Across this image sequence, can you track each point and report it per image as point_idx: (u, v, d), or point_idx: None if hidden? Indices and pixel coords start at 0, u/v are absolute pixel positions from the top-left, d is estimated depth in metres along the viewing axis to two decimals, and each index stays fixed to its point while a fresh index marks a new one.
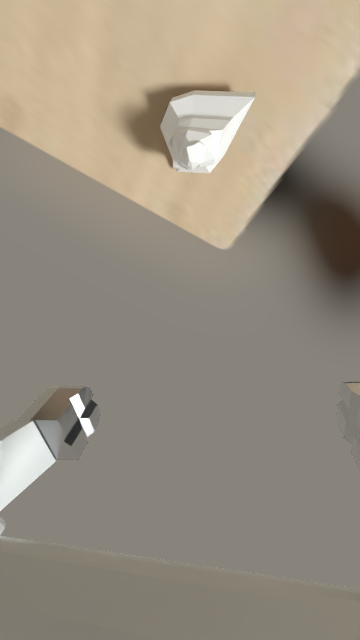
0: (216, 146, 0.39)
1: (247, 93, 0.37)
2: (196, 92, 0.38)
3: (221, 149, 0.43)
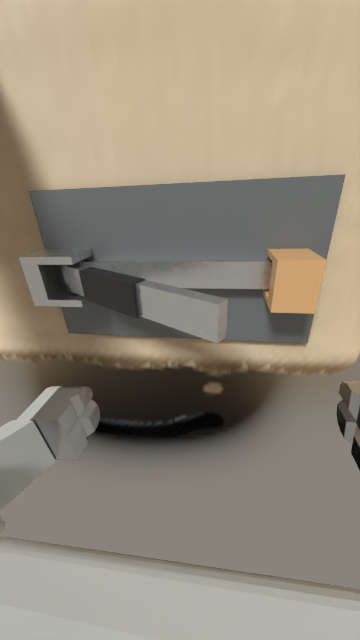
0: None
1: None
2: None
3: None
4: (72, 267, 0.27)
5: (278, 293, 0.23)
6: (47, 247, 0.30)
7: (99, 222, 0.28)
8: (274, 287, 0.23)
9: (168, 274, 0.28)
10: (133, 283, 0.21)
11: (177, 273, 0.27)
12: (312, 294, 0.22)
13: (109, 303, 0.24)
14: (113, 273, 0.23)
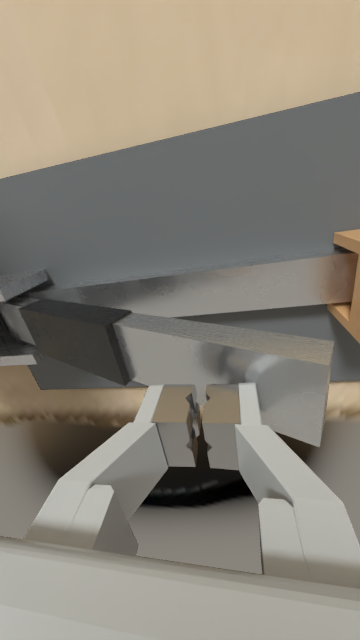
0: None
1: None
2: None
3: None
4: (13, 303, 0.16)
5: None
6: None
7: (49, 227, 0.17)
8: None
9: (167, 297, 0.17)
10: (108, 324, 0.10)
11: (181, 293, 0.17)
12: None
13: (75, 359, 0.13)
14: (74, 306, 0.13)
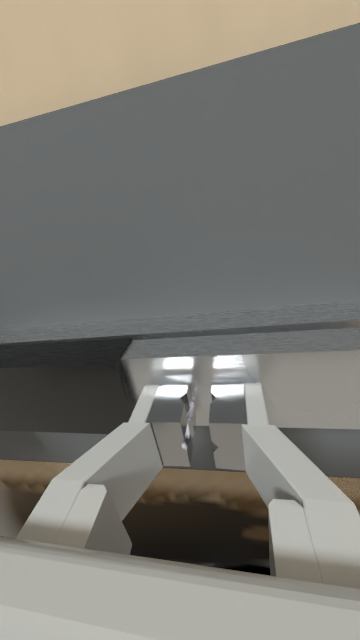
0: None
1: None
2: None
3: None
4: None
5: None
6: None
7: None
8: None
9: None
10: (115, 360, 0.08)
11: None
12: None
13: (46, 421, 0.10)
14: (34, 348, 0.10)
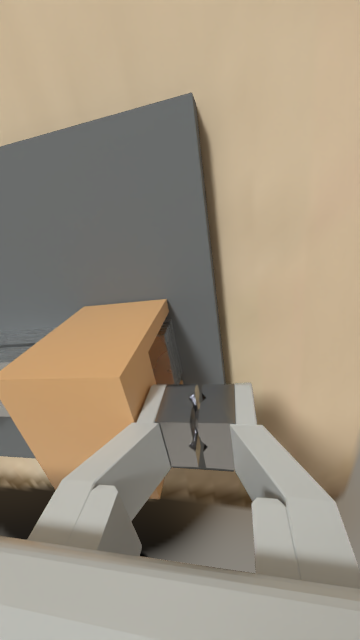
0: None
1: None
2: None
3: None
4: None
5: (44, 453, 0.08)
6: None
7: None
8: (28, 439, 0.08)
9: None
10: None
11: None
12: None
13: None
14: None
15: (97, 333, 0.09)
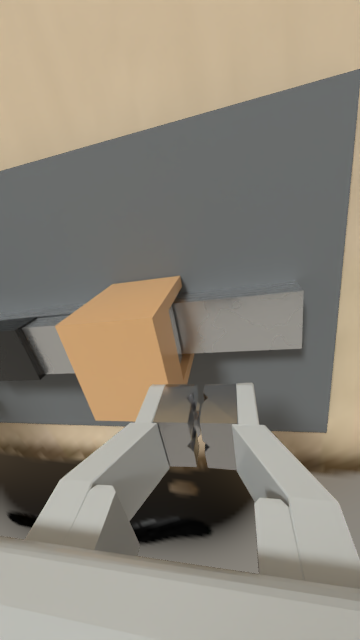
0: None
1: None
2: None
3: None
4: None
5: (90, 387, 0.11)
6: None
7: None
8: (78, 376, 0.11)
9: None
10: (17, 328, 0.13)
11: None
12: None
13: None
14: None
15: (128, 298, 0.11)
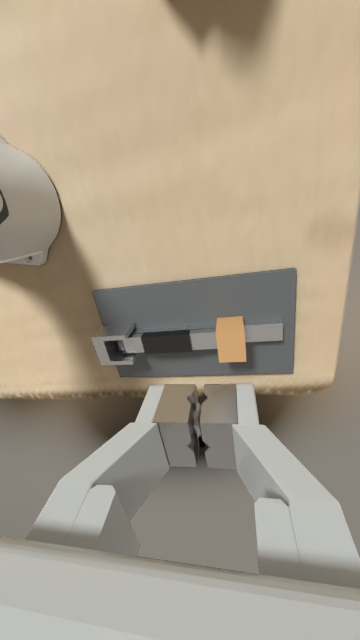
0: None
1: None
2: None
3: None
4: (129, 337, 0.41)
5: (221, 351, 0.36)
6: (104, 323, 0.44)
7: (138, 306, 0.41)
8: (217, 348, 0.36)
9: None
10: (188, 333, 0.39)
11: None
12: (241, 350, 0.36)
13: (169, 349, 0.40)
14: (166, 332, 0.40)
15: (230, 325, 0.37)
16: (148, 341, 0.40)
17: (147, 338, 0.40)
